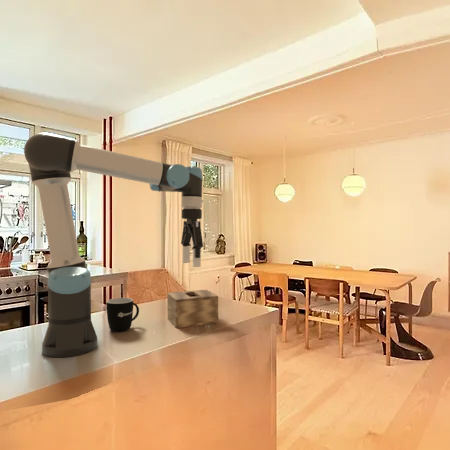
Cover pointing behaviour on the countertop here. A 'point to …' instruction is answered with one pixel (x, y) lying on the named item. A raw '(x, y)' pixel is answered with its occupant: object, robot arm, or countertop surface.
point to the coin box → (192, 308)
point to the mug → (120, 314)
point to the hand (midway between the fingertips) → (191, 264)
